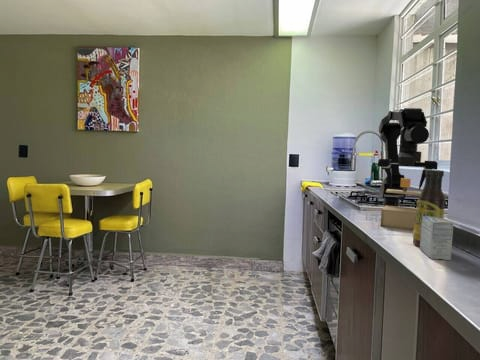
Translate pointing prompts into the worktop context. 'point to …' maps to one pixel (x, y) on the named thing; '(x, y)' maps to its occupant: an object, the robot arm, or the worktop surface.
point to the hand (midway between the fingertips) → (405, 188)
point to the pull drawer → (404, 188)
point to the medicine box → (436, 237)
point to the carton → (398, 217)
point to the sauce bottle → (429, 201)
